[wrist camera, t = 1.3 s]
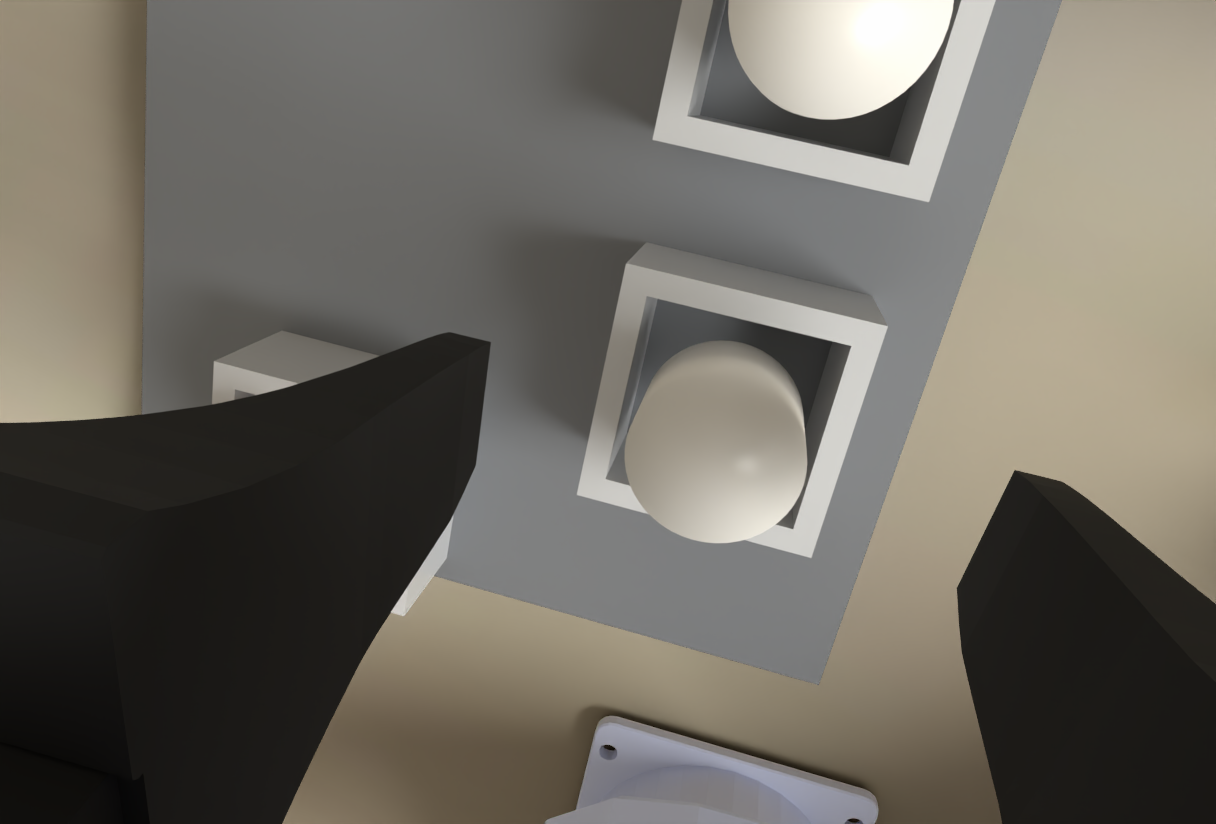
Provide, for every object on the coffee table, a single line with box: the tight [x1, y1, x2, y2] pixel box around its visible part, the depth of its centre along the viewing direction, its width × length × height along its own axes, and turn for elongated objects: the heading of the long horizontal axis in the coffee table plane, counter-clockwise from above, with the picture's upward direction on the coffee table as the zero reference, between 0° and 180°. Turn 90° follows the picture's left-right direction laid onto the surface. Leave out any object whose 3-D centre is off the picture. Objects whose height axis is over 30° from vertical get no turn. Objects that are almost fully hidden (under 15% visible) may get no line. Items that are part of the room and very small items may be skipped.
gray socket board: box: [142, 0, 1062, 685], centre depth 19 cm, size 17×18×5 cm
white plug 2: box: [728, 0, 954, 119], centre depth 13 cm, size 3×3×2 cm
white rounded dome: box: [625, 340, 807, 543], centre depth 15 cm, size 3×3×2 cm
